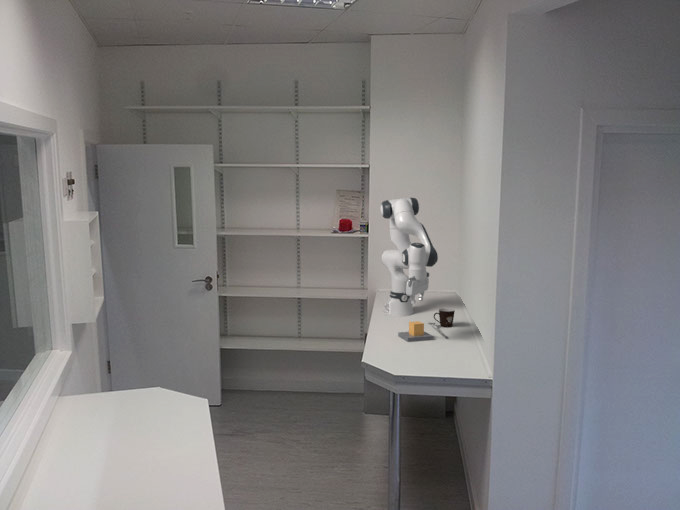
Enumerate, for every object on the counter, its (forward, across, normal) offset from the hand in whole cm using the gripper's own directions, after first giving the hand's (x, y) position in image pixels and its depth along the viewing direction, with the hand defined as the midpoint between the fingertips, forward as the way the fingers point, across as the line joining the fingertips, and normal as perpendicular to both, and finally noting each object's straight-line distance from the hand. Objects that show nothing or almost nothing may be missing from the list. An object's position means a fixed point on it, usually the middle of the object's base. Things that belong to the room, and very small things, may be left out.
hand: (417, 301), depth 300 cm
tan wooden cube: (+17, -1, 0) cm, 17 cm away
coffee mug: (+20, +29, -3) cm, 35 cm away
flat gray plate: (+19, -1, 0) cm, 19 cm away
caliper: (+20, +20, -8) cm, 29 cm away
